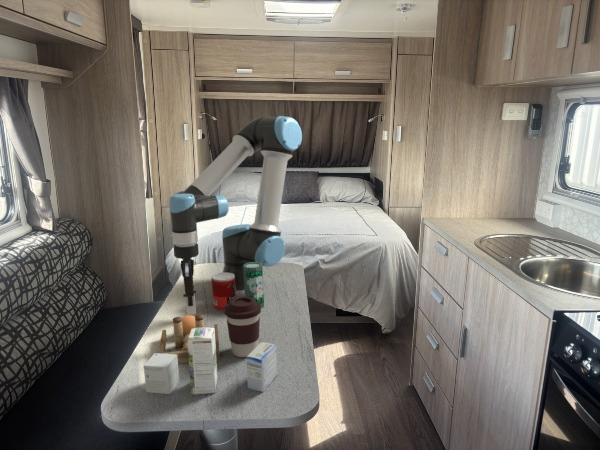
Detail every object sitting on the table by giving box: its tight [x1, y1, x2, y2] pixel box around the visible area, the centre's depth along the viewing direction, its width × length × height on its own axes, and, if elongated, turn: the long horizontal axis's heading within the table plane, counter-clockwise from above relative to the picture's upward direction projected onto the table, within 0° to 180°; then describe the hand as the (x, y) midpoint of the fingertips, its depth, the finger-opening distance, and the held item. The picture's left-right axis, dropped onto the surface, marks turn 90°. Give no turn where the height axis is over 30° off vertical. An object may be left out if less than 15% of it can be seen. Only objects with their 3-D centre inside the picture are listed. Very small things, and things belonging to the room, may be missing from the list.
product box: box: [143, 352, 180, 395], centre depth 109 cm, size 6×6×7 cm
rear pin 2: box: [194, 314, 205, 328], centre depth 129 cm, size 2×2×9 cm
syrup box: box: [188, 327, 218, 396], centre depth 108 cm, size 6×6×14 cm
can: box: [243, 262, 265, 309], centre depth 154 cm, size 6×6×15 cm
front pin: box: [181, 334, 190, 351], centre depth 127 cm, size 2×2×9 cm
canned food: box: [211, 271, 237, 311], centre depth 155 cm, size 8×8×11 cm
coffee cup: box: [223, 296, 262, 358], centre depth 124 cm, size 10×10×15 cm
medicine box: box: [245, 341, 278, 393], centre depth 110 cm, size 8×4×9 cm, turn 157°
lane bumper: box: [157, 323, 221, 365], centre depth 128 cm, size 16×15×3 cm
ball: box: [181, 315, 196, 336], centre depth 135 cm, size 6×6×6 cm
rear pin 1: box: [172, 316, 184, 350], centre depth 128 cm, size 2×2×9 cm
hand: (191, 313), depth 146 cm, fingers closed
